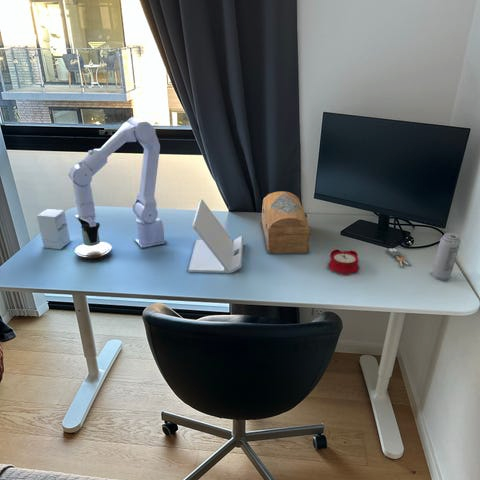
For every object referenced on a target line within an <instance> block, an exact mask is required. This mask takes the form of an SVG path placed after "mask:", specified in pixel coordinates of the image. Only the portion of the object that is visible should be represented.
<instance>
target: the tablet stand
mask: <svg viewBox="0 0 480 480" xmlns="http://www.w3.org/2000/svg"><path fill="white" fill-rule="evenodd" d="M193 218H194V219H193V221H192V225H191V227H192V229H193V230H194V231H195V233H196V234H197V235H198V237H199V238H200V239H196V240H195V243H194V247H193V251H192V255H191V259H190V262H189V265H188V273H213V274H214V273H215V274H216V273H217V274H233V273H234V272H236V271H237V270H240V269H241V268H242V265H243V264H242V263H243V248H244V247H243V246H244V237H243V236H242V235H240V236H238V237H237V238H235V239H233V238H231V236H230V235H229V234H228V233H229V232H228V231H226V229H225V228H224V226H223V225H222V224H221V222H220V221H219V220H218V219H217V217H216V216H215V214H214V213H213V212H212V210H211V209H210V208H209V206H208V205H207V204H206V202H205V201H204V199H199V201H198V205H197V208H196V211H195V214H194V217H193Z"/></svg>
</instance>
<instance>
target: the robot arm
mask: <svg viewBox="0 0 480 480" xmlns="http://www.w3.org/2000/svg"><path fill="white" fill-rule="evenodd" d="M137 141H138V143H139V144H140V145H141V146H142V148H143V156H142V164H141V165H142V166H141V173H140V184H139V193H138V194H137V195H136V196H135V197H136V198H135V201H134V202H133V204H132V212H133V213H134V214H135V215H136V218H135V221H136V229H137V237H138V238H135V239H134V240H135V242H136V243H137V244H138V245H139V247H140V248H141V249H145V248H148V247H153V246H159V245H163V244H166V240H165V230H164V224H163V220H162V219H161V218H160V217H158V215H159V213H158V209H157V206H158V205H157V200H156V198H155V193H156V183H157V175H158V167H159V161H160V151H161V144H160V142H159V138H158V136H157V133H156V128H155V127H154V126H153V125H152V124H151V123H150V122H149V121H145V120H143V119H142V118H140V117H137V116H131V117H130V118H129V119H127V120H126V121H125V122H124V123H122V124H121V126H120V128H118V130H117V131H116V132H115V133H114V134H112V135H111V137H110V138H109V139H107V141H106V142H105V143H104V144H103V145H102V146H101V147H100V148H93V149H90V150H88V151H87V153H88V154H87V155H86V156H85V157H84V158H82V160H78V161H77V164H74V165H72V166H71V167H70V169H69V173H68V177H69V178H70V180H72V187H73V193H74V199H75V204H76V210H77V214H75V215H74V218H75V219H76V220H78V222H80V226H83V227H84V229H85V230H86V232H87V235H88V238H89V240H90V242H91V243H94V242H97V233H99V229H100V226H101V223H100V222H96V220H97V213H96V208H95V202H94V197H93V196H94V195H93V189H92V187H91V183H92V180H93V177H94V176H95V175H96V174H97V173H98V172H99V171H100V170H101V169H102V168H103V167H104V166H106V164H108V158H109V157H110V156H111V155H112V154H113V153H115V152H116V151H117V150H119V148H121V147H122V146H123V145H124V144H125V143H136V142H137ZM85 223H87V224H85Z"/></svg>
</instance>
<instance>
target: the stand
mask: <svg viewBox="0 0 480 480" xmlns="http://www.w3.org/2000/svg"><path fill="white" fill-rule="evenodd" d="M112 250H113V246H112V245H111V244H110V243H108V242H105V241H100V243H99V244H97V245H94V246H87V245H84V243H82V244H80V245H78V246H76V247H75V248H74V251H73V252H74V255H75V256H77V257H78V259H79V260H81V261H82V262H89V263H90V262H98V261H103V260H105V259H107V258H108V257H110V255H111V252H112Z"/></svg>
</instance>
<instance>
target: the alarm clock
mask: <svg viewBox="0 0 480 480" xmlns="http://www.w3.org/2000/svg"><path fill="white" fill-rule="evenodd" d="M358 256H359V255H358V253H357V251H355V250H345V251H343V249H342V250H340V249H338V248H337V249H333V250H331V252H330V254H329V257H330V261H329V262H328V266H327V267H328V268H329V270H331V271H333V272H335V273H338V274H342V276H346V275H350V274H354V273H357V272H358V271H359V269H360V266H359V257H358Z"/></svg>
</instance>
